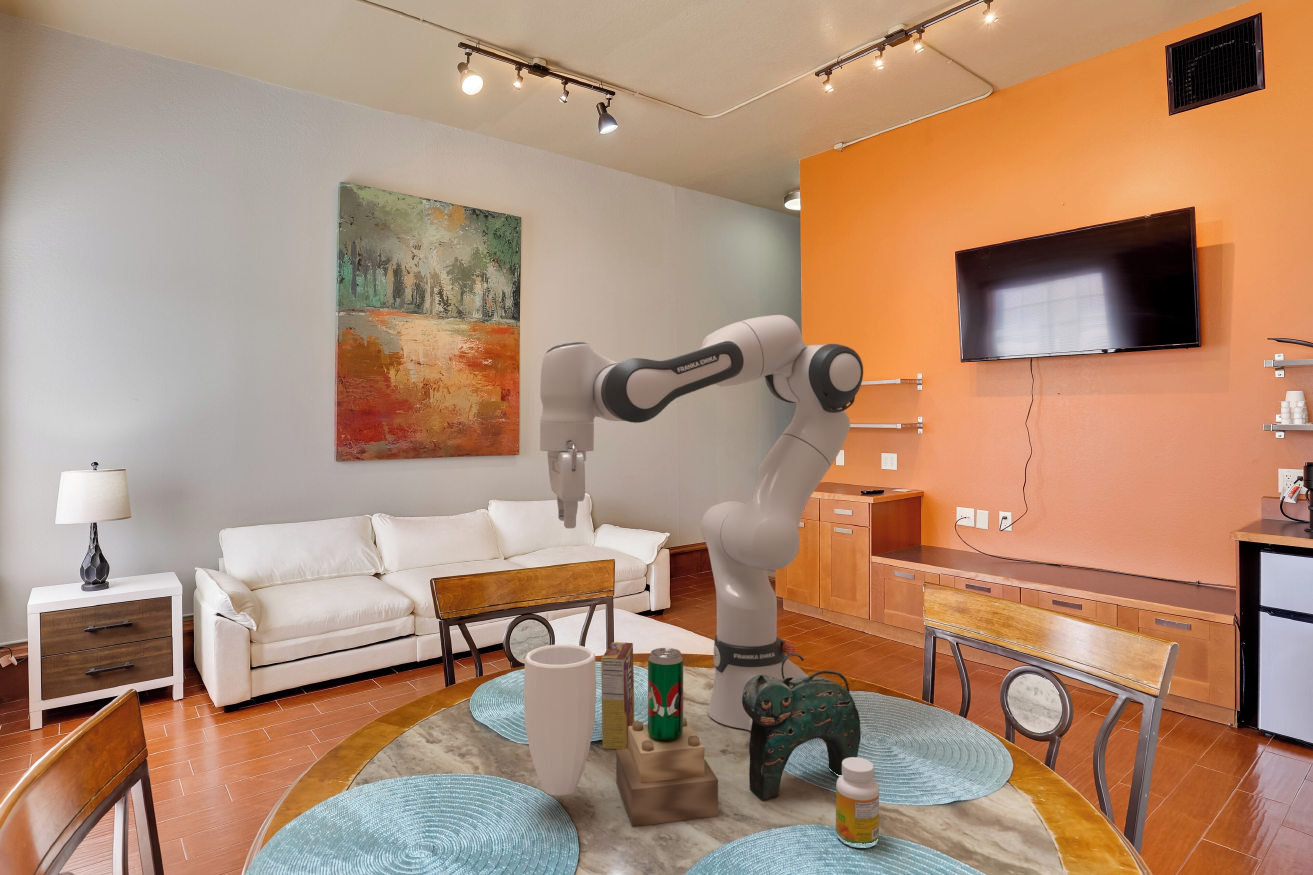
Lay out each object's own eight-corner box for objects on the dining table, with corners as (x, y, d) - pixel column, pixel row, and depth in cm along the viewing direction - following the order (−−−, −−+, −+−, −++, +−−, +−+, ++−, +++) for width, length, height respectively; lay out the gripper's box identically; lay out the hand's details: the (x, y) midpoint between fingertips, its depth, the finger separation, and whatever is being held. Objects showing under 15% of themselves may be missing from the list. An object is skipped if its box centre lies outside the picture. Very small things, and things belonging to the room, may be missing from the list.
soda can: (683, 728, 104) (684, 647, 104) (682, 743, 99) (682, 658, 99) (649, 727, 105) (649, 646, 105) (646, 742, 100) (646, 657, 100)
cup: (565, 837, 92) (565, 672, 92) (506, 814, 98) (506, 657, 97) (612, 801, 101) (612, 650, 101) (555, 782, 107) (555, 638, 106)
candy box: (611, 726, 126) (611, 641, 126) (635, 728, 126) (635, 642, 126) (600, 748, 118) (600, 657, 117) (625, 750, 117) (626, 658, 117)
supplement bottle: (829, 827, 95) (830, 754, 95) (869, 825, 95) (869, 753, 95) (843, 851, 90) (844, 774, 89) (885, 849, 90) (886, 773, 90)
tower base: (693, 774, 109) (693, 710, 109) (717, 815, 98) (718, 744, 97) (616, 782, 106) (616, 717, 106) (631, 826, 95) (632, 753, 95)
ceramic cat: (756, 808, 100) (757, 666, 99) (732, 786, 106) (733, 652, 105) (867, 778, 108) (868, 647, 108) (839, 760, 114) (840, 636, 114)
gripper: (595, 441, 109) (594, 532, 109) (578, 439, 128) (578, 516, 129) (553, 441, 107) (553, 533, 107) (543, 439, 127) (543, 516, 127)
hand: (566, 523), depth 118 cm, fingers open, 8 cm apart
